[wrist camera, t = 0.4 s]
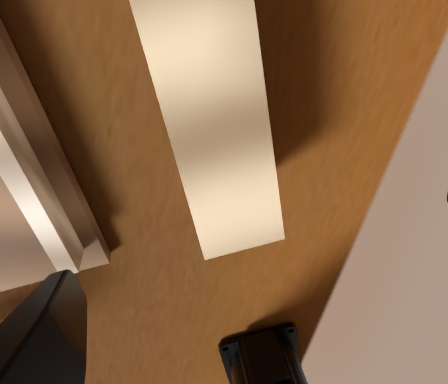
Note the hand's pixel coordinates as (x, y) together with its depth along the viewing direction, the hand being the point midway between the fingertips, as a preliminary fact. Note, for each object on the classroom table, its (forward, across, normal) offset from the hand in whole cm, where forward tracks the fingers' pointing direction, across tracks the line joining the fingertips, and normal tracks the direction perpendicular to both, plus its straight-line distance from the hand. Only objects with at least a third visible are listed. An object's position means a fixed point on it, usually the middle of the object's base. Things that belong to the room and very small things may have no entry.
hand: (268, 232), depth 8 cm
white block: (+13, 0, 0) cm, 13 cm away
